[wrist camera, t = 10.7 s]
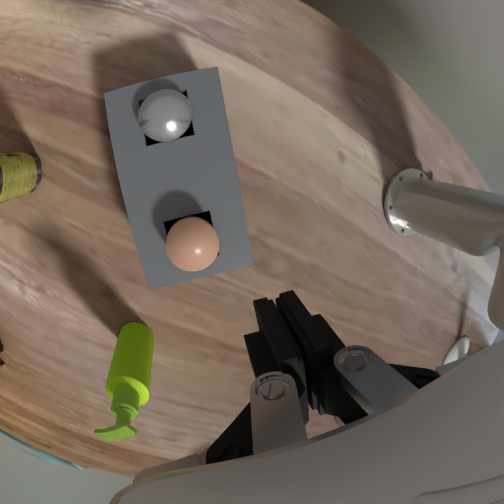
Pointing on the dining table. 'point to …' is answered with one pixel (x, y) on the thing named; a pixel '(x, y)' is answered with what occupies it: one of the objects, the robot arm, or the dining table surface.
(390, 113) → the dining table surface
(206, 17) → the dining table surface
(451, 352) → the candlestick
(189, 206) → the button box
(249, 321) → the dining table surface
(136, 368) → the soap dispenser
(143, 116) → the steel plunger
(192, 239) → the terracotta plunger
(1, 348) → the dragon fruit
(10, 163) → the sauce bottle
